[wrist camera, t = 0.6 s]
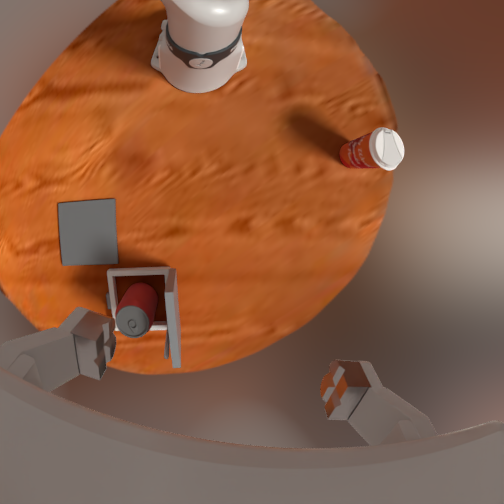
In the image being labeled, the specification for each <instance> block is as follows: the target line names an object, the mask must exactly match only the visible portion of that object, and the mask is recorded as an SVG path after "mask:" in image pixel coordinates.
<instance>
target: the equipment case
mask: <svg viewBox="0 0 504 504" xmlns="http://www.w3.org/2000/svg"><path fill="white" fill-rule="evenodd" d="M136 275H165V303H166V314H167V321H154V322H153V325H152V327H151V328H150V330H167V332H166V342H165V352H164V358H165V359H168V358H169V343H170V349H171V357H172V364H173V368H181V328H180V317H179V305H178V291H177V276H176V269H173V268H170V266H168V267H142V268H113V269H108V270H107V277H108V286H109V292H107V294H106V298H107V305H108V309H112V315H113V318H114V319H116V318H115V312H116V308H117V306H118V298H117V290H116V281H115V276H136ZM115 324H116V320H115ZM115 331H119V330H118V328H117V325H116V328H115Z"/></svg>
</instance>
